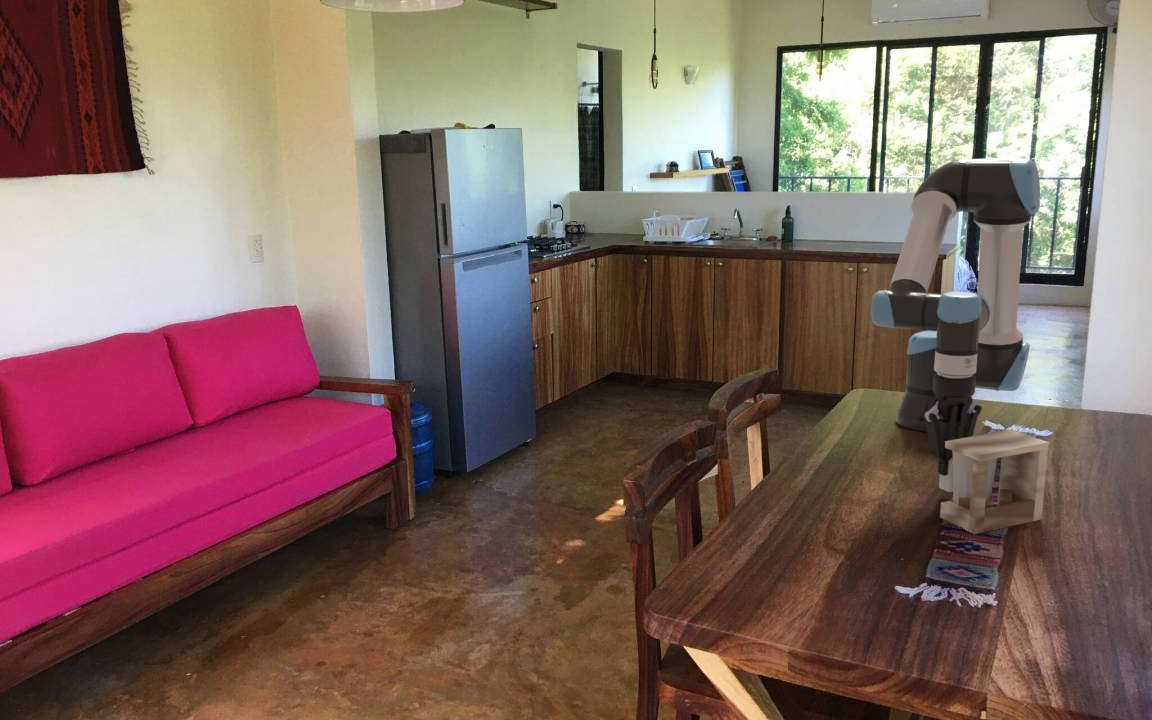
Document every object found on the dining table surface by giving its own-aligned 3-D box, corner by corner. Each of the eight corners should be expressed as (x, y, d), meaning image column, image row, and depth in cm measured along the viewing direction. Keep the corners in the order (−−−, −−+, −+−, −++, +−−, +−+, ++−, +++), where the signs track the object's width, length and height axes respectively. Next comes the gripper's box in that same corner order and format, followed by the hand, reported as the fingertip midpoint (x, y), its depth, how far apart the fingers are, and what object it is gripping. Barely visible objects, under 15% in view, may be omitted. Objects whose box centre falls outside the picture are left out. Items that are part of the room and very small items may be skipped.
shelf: (940, 517, 175) (945, 441, 171) (1005, 503, 180) (1011, 429, 177) (974, 534, 167) (980, 455, 164) (1041, 519, 173) (1048, 442, 169)
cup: (994, 520, 173) (1000, 458, 170) (948, 515, 176) (953, 455, 173) (991, 504, 180) (996, 445, 177) (947, 500, 183) (951, 441, 180)
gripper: (942, 382, 173) (934, 501, 178) (996, 373, 177) (986, 490, 183) (913, 373, 179) (907, 488, 185) (966, 365, 184) (958, 478, 190)
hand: (946, 489), depth 184 cm, fingers closed
